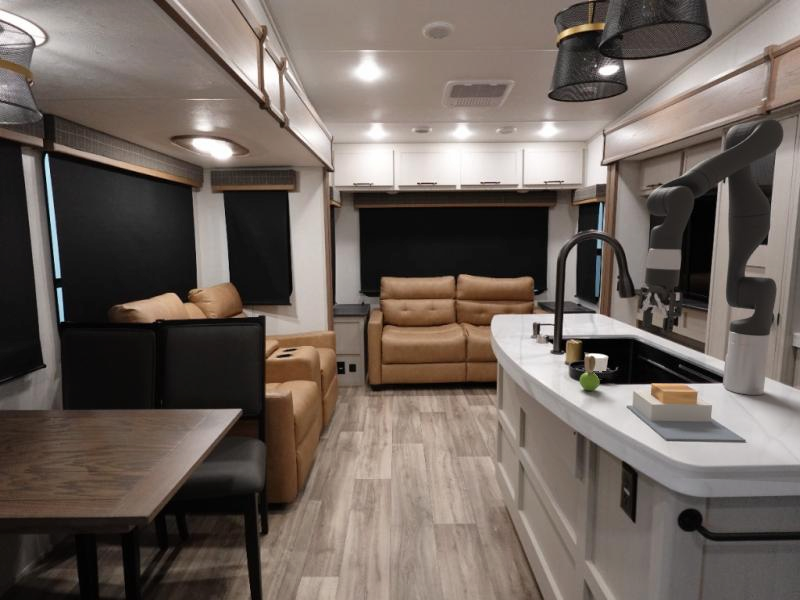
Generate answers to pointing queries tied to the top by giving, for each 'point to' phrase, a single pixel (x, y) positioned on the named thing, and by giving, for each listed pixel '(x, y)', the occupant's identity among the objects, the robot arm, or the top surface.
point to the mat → (690, 429)
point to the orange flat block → (674, 393)
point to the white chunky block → (599, 361)
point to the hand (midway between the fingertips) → (656, 329)
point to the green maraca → (589, 374)
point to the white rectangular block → (671, 409)
